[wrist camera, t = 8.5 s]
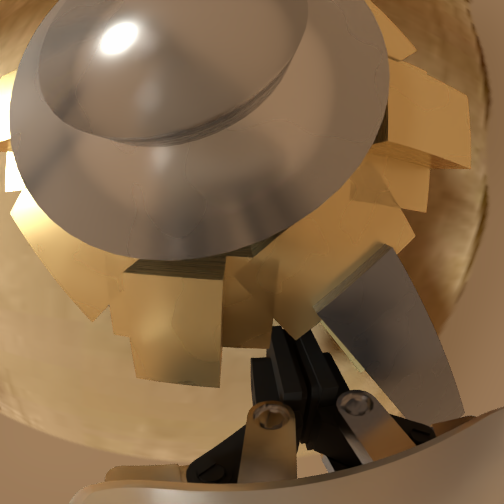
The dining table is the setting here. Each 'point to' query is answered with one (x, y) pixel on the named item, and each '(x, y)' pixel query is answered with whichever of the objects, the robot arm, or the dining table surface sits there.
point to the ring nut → (289, 262)
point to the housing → (195, 118)
